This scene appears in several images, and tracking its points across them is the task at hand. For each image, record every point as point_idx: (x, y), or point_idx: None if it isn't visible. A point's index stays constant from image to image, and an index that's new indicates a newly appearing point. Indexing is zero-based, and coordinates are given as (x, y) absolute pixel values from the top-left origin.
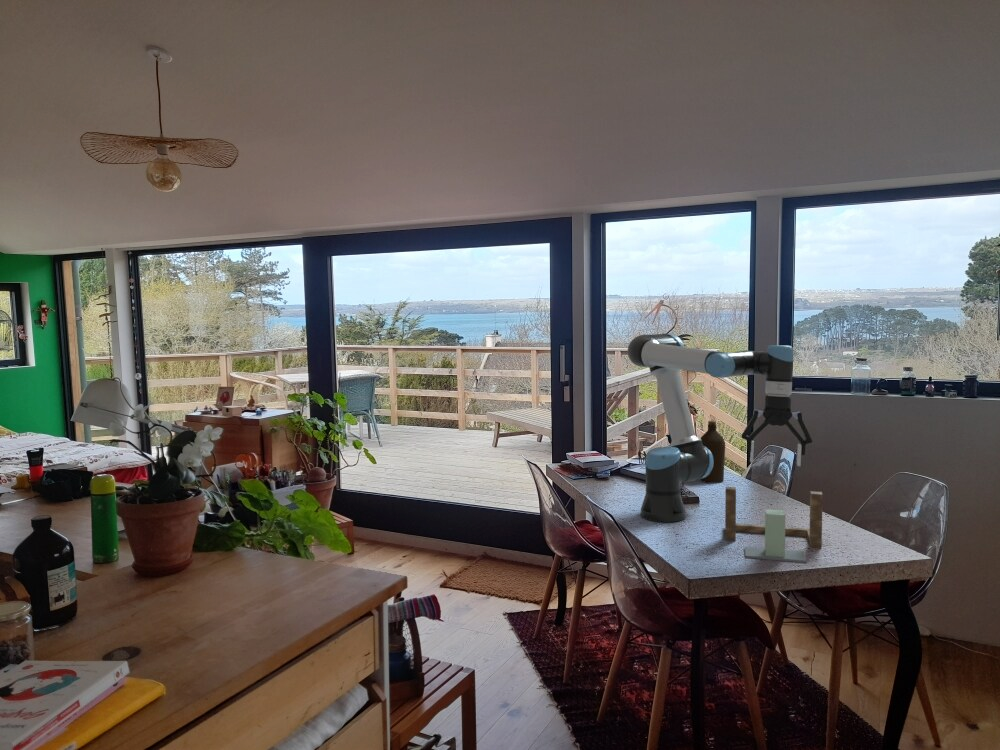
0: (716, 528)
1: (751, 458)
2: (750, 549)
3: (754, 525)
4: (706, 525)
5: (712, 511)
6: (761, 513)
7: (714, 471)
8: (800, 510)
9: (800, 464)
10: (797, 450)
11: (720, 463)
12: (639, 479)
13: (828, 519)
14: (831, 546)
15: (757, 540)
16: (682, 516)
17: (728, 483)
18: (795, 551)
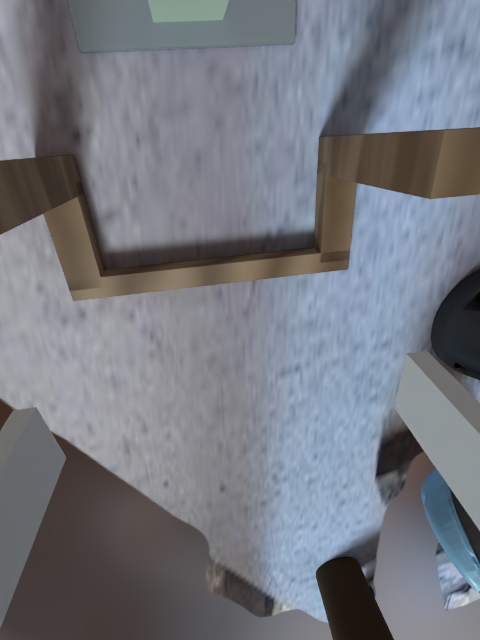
0: (363, 258)
1: (444, 375)
2: (275, 4)
3: (263, 270)
4: (387, 276)
5: (357, 396)
6: (241, 423)
7: (343, 587)
8: (153, 474)
9: (5, 423)
10: (4, 602)
11: (338, 614)
12: None
13: (77, 437)
14: None
15: (249, 172)
16: (452, 303)
17: (307, 566)
18: (108, 35)
